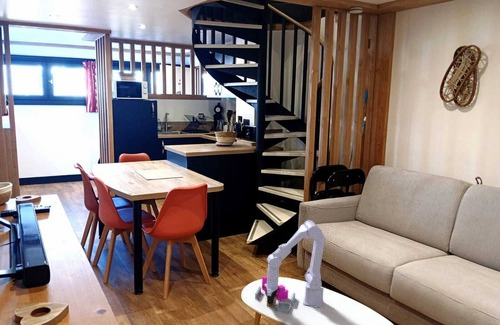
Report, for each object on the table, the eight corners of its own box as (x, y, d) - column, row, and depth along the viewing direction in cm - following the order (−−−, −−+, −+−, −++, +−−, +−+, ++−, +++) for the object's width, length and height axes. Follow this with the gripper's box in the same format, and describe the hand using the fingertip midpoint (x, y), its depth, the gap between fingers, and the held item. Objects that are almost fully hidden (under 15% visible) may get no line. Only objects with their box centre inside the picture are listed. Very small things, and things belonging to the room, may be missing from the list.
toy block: (287, 298, 211) (288, 285, 209) (278, 301, 207) (279, 288, 206) (270, 286, 223) (271, 274, 221) (261, 289, 219) (262, 277, 218)
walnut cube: (276, 303, 205) (276, 296, 204) (274, 307, 201) (274, 300, 201) (268, 301, 206) (268, 294, 205) (266, 305, 202) (267, 298, 202)
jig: (294, 298, 211) (295, 293, 210) (289, 313, 196) (289, 308, 196) (259, 291, 216) (259, 286, 216) (251, 306, 202) (251, 300, 201)
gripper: (268, 270, 209) (267, 293, 211) (261, 282, 195) (260, 307, 198) (281, 272, 207) (280, 296, 210) (275, 285, 193) (274, 310, 196)
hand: (271, 302), depth 204 cm, fingers closed on walnut cube, 4 cm apart
